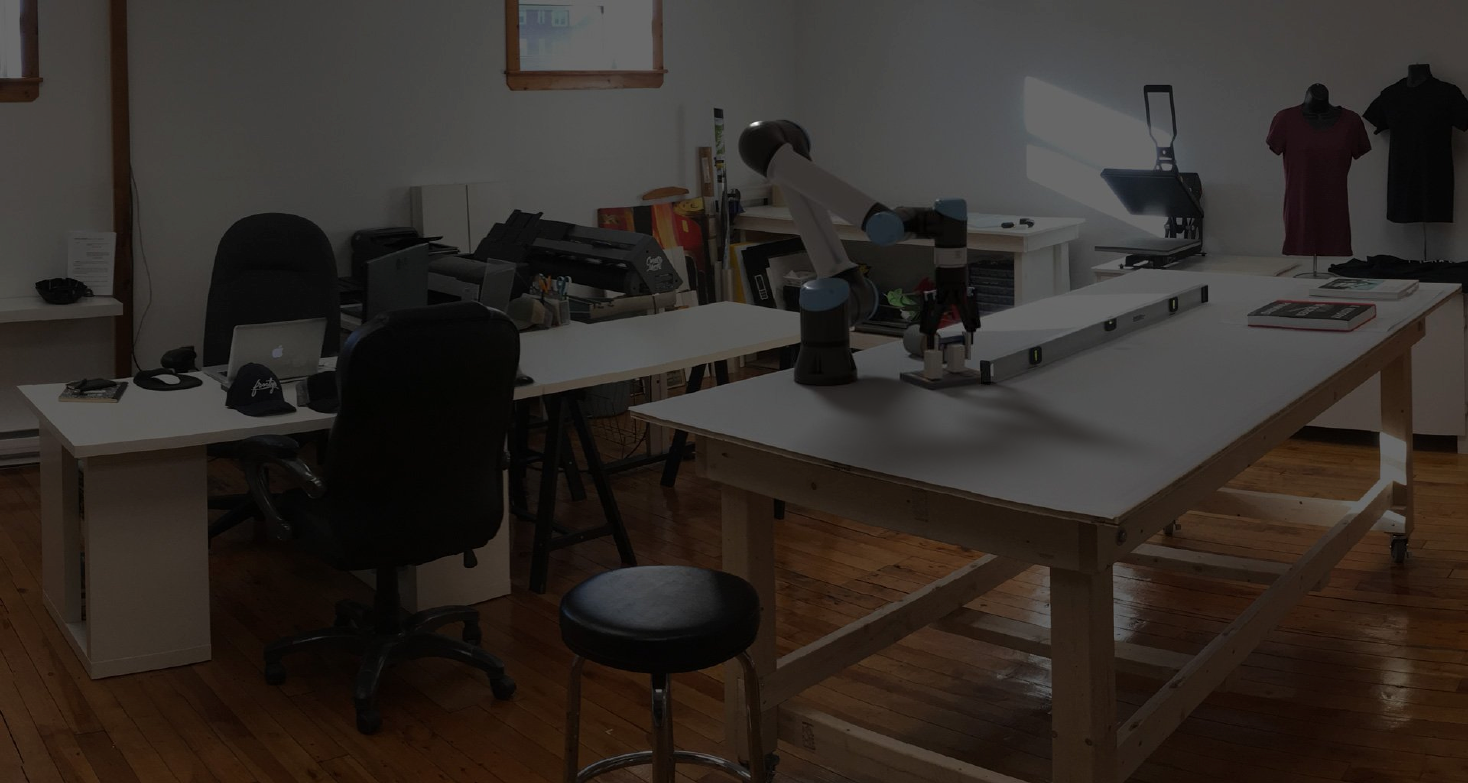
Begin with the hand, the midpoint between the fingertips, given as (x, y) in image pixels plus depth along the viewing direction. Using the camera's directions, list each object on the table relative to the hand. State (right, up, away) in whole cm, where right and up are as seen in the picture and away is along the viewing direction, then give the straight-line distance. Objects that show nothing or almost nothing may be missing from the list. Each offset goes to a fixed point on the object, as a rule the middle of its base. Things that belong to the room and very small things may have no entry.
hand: (950, 360), depth 304 cm
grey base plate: (-1, -5, -3) cm, 6 cm away
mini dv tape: (0, -1, 0) cm, 1 cm away
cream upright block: (-5, -4, -8) cm, 11 cm away
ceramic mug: (-1, +2, +29) cm, 29 cm away
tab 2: (+1, -2, -2) cm, 3 cm away
